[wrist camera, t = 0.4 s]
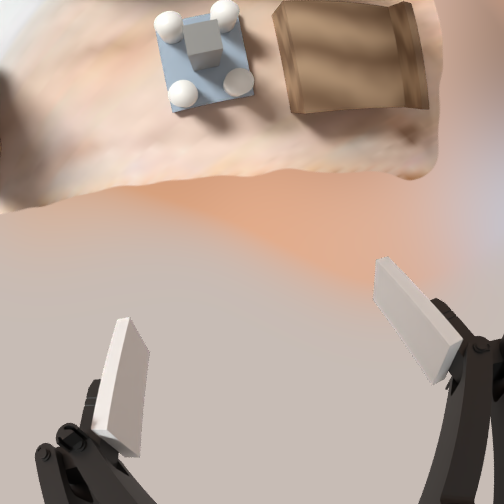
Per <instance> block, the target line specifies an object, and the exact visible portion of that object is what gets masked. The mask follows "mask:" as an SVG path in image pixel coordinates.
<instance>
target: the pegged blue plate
mask: <svg viewBox="0 0 504 504" xmlns="http://www.w3.org/2000/svg"><path fill="white" fill-rule="evenodd" d="M238 15H239V7H238V5H237V4H236V3H235V2H233V1H231V0H220V1H217V2H216V3H214V4H213V6H212V7H211V12H210V14H205V15H200V16H195V17H190V18H186V19H182V17H181V15H180V14H179V13H177V12H175V11H166V12H163V13H161V14H160V15H158V16H157V18H156V19H155V21H154V28H155V30H156V35H157V41H158V46H159V51H160V56H161V61H162V66H163V71H164V75H165V80H166V85H167V90H168V97H169V100H170V103H171V108H172V112H173V113H174V112H178V111H182V110H186V109H190V108H194V107H198V106H202V105H207V104H211V103H216V102H220V101H225V100H230V99H236V98H241V97H247V96H253V95H254V91H253V85H254V77H253V75H252V74H251V72H250V71H249V66H248V61H247V56H246V51H245V46H244V42H243V37H242V32H241V27H240V23H239V18H238Z"/></svg>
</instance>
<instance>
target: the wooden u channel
mask: <svg viewBox="0 0 504 504" xmlns="http://www.w3.org/2000/svg"><path fill="white" fill-rule="evenodd" d="M272 18H273V22H274V26H275V31H276V36H277V40H278V45H279V50H280V55H281V60H282V65H283V70H284V76H285V81H286V86H287V92H288V98H289V103H290V109H291V113H303V114H307V113H316V112H326V111H336V110H348V109H364V108H387V107H408V108H417V109H429V100H428V90H427V82H426V74H425V67H424V61H423V55H422V49H421V43H420V38H419V34H418V29H417V24H416V20H415V16H414V12H413V8H412V4H411V3H408V2H404V1H403V2H401V3H398V4H395V5H393V6H390V7H384V6H377V5H370V4H361V3H351V2H338V1H315V0H292V1H283V2H282V3H281V4H280V5H279V7H278V8H277V9H276V11H275V12H274V13H273V14H272Z"/></svg>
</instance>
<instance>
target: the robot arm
mask: <svg viewBox="0 0 504 504" xmlns="http://www.w3.org/2000/svg"><path fill="white" fill-rule="evenodd" d="M373 300H374V302H375V303H376V305H377V306H378V307H379V309H380V310H381V311H382V313H383V314H384V316H385V317H386V318H387V320H388V321H389V322H390V324H391V325H392V326H393V328H394V330H395V331H396V332H397V334H398V335H399V337H400V338H401V340H402V341H403V343H404V344H405V345H406V347H407V348H408V350H409V351H410V352H411V354H412V356H413V357H414V359H415V360H416V362H417V363H418V365H419V366H420V368H421V369H422V371H423V372H424V374H425V375H426V377H427V379H428V380H429V382H430V383H431V385H434V384H436V383H438V382H440V381H441V380H443V379H445V377H446V375H447V373H448V371H449V372H450V374H451V375H452V377H451V379H450V380H449V382H448V384H447V386H446V390H447V389H448V388H449V392H448V398H447V403H446V409H445V414H444V419H443V424H442V429H441V432H440V437H439V441H438V445H437V448H436V452H435V456H434V459H433V463H432V466H431V469H430V472H429V476H428V478H427V481H426V484H425V487H424V490H423V493H422V496H421V498H420V501H419V503H418V504H474V499H475V495H476V491H477V488H478V484H479V480H480V476H481V471H482V466H483V461H484V456H485V451H486V445H487V438H488V430H489V423H490V416H491V425H492V435H493V448H494V449H493V450H494V501H493V504H504V335H503V337H502V339H498V340H493V341H489V340H487V339H486V338H484V337H481V336H474V335H473V334H472V333H471V332H470V330H469V329H468V328H467V327H466V326H465V325H464V323H463V322H462V321H461V320H460V319H459V318H458V317H456V314H454V312H453V311H451V309H450V308H449V307H448V306H447V305H446V304H445V303H444V302H442V301H441V300H439V299H437V298H435V299H432V300H429V299H428V298H427V297H426V296H425V295H424V293H422V292H421V290H420V289H419V288H418V287H417V286H416V285H415V284H414V283H413V282H412V281H411V280H410V279H409V277H408V276H406V274H405V273H404V272H403V271H402V270H401V269H400V268H399V267H398V266H397V265H396V264H395V263H394V262H393V261H392V260H391V259H390V258H389V257H384V258H381V259H377V260H376V269H375V282H374V294H373ZM149 355H150V352H149V350H148V348H147V347H146V345H145V343H144V341H143V340H142V338H141V336H140V334H139V333H138V331H137V329H136V327H135V325H134V324H133V322H132V320H131V318H130V317H127V318H122V319H118V320H117V322H116V326H115V329H114V332H113V336H112V340H111V343H110V347H109V351H108V354H107V358H106V362H105V366H104V370H103V374H102V378H101V379H99V380H94V381H93V382H92V384H91V385H90V387H89V389H88V393H87V399H86V401H85V407H84V410H83V414H82V419H81V424H80V428H79V427H78V426H77V425H75V424H73V423H66V424H64V425H63V426H62V427H60V428H59V430H58V432H57V434H56V442H57V444H58V445H59V446H60V447H57V448H55V447H53V446H52V445H51V444H48V443H43V444H42V445H40V446H39V447H38V448H37V450H36V453H35V461H36V466H37V472H38V477H39V482H40V486H41V490H42V494H43V498H44V502H45V504H157V503H156V502H155V501H154V500H153V499H152V498H151V497H150V496H149V495H148V494H147V493H146V491H145V490H144V489H143V488H142V487H141V485H140V484H139V483H138V482H137V481H136V480H135V478H134V477H133V476H132V475H131V473H130V472H129V471H128V470H127V469H126V467H125V466H124V464H123V463H122V462H121V461H120V460H119V459H118V453H120V454H122V455H123V456H124V457H140V446H141V431H142V418H143V406H144V396H145V387H146V378H147V370H148V361H149Z"/></svg>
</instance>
